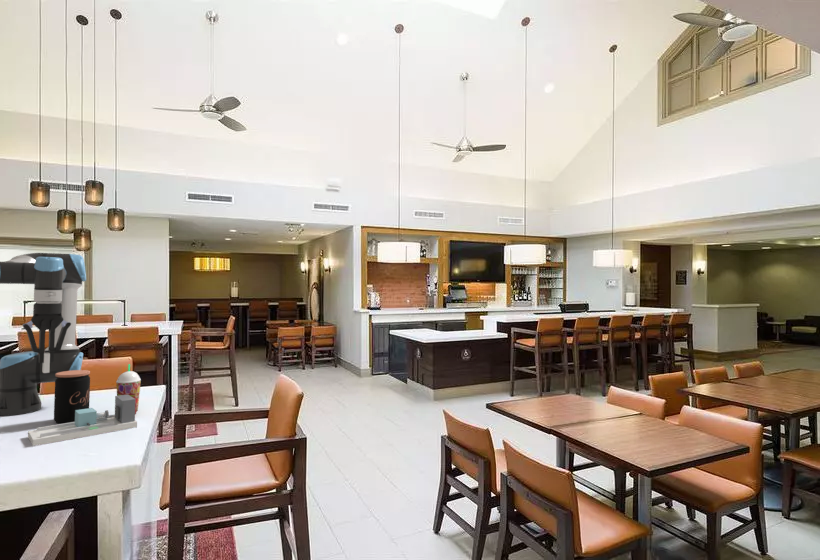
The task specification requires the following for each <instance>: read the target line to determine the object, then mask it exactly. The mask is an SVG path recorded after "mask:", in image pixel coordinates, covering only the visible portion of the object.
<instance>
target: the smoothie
mask: <svg viewBox="0 0 820 560" xmlns="http://www.w3.org/2000/svg"><path fill="white" fill-rule="evenodd" d="M127 366H128V368H127V371H124V372H123V373H121V374H119V376H118V377H117V380H115V382H116V396H120V395H127V394H128V395H129V396H131V397H133V398H134V399H135V415H136V414H137V412H138V411H139V405H140V403H139V402H140V391H141V383H142V382H141V381H142V379H141V377H140V375H139V374H138V373H137V372H135V371H133V370H131V364H130V363H128V365H127Z"/></svg>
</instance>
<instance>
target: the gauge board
mask: <svg viewBox="0 0 820 560" xmlns="http://www.w3.org/2000/svg"><path fill="white" fill-rule="evenodd" d="M133 427H135V428H138V421H137V420H136V414H135V399H134V398H133V397H131V396H129V395H128V394H127V395H120V396H117V395H115V399H114V417H108V418H105V417H100V418H96V424H94V425H90V426H82V427H76V426H75V422H70V423H63V424H58V423H56V424H52V425H46V426H39V427H36V429H34V430H29V431H28V432H27V438H28V440H29V442H30V443H32V444H31V446H32V447H35V446H36V445H37V446H41V445H47V444H52V443H58V442H63V441H69V440H73V439H74V440H75V439H80V438H79V437H81V438H85V437H90V436H91V435H92V436H97V435H102V434H107V433H112V432H113V431H114V432H117V431H118V430H119V431H123V429H124V430H129V429H128V428H130V429H134V428H133ZM92 436H91V437H92ZM37 446H36V447H37Z"/></svg>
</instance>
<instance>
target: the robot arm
mask: <svg viewBox="0 0 820 560" xmlns="http://www.w3.org/2000/svg"><path fill="white" fill-rule="evenodd" d="M86 281H87V273H86V264H85V260H84V257H83V256H82V255H80V254H75V253H73V254H72V253H55V252H53V253H52V252H30V253H25V254H18V255H16V256H13V257H12V258H11V259H9V260H7V261H0V284H3V285H4V284H6V285H7V284H8V285H9V284H10V285H13V284H14V285H15V284H18V285H19V284H20V285H34V286H33V289H34V290H33V302H34V304H33V305H32V306H33V310H32V312H33V314H32V317H31V319H30V321H28V322H25V323H23V324H22V327H23V328H24V330H25V331H26V334H27V338H28V341H29V344H30V348H31V351H29V350H28V351H23V352H18V353H16V352H15V353H11V354H7V355H4V356H3V357H1V358H0V417H1V416H3V417H5V416H16V415H17V416H18V415H23V414H28V413H33V412H37V411H39V410H41V409H42V400H41V398H40V396H39V393H38V390H37V388H38V384H46V383H55V380H56V379H57V377H56V376H55V374H56V373H58V372H64V371H72V370H82V364H83V359H84V358H83V357H84V353H83V352H81V351H80V348H79V346H78V345H76V337H77V335H76V332H77V330H76V329H77V309H78V308H77V307H78V306H77V305H78V289H79V288H81V287H82V286H83V282H86ZM33 326H34V327H36V328H37V330H38V332H39V334H38V336H39V337H38V346H37V343H36V339H35V335H34V333H33V328H34V327H33ZM46 331H48V346H47V347H45V345H46Z"/></svg>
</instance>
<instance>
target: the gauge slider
mask: <svg viewBox="0 0 820 560" xmlns="http://www.w3.org/2000/svg"><path fill="white" fill-rule="evenodd" d="M109 416H110V415H109V410H104V412H97V410H96V409H94V408H93V407H89V408H88V409H81V410H75V426H76V427H82V426H90V425H94V424H96V418H101V417H105V418H109Z"/></svg>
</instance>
